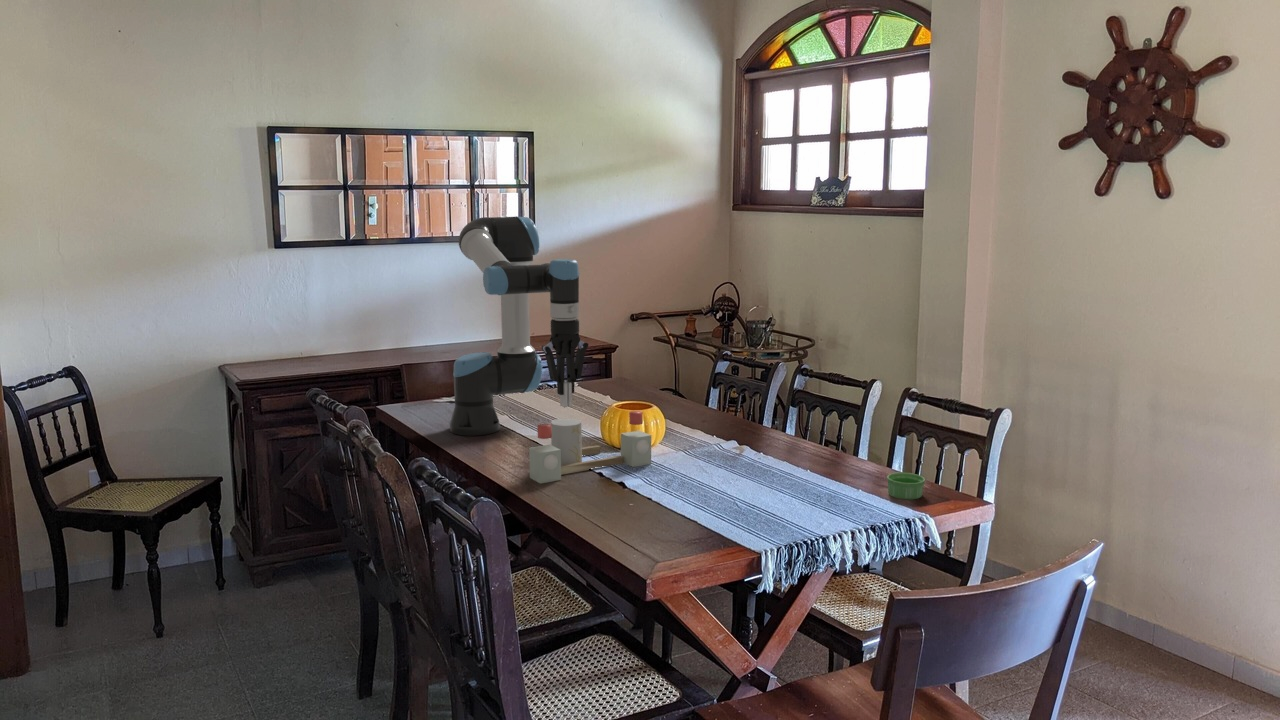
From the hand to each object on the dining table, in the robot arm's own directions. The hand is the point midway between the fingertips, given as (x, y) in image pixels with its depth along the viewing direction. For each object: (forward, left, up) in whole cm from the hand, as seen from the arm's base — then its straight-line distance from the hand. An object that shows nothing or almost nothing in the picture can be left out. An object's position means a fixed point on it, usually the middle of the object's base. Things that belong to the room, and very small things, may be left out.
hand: (566, 405), depth 268 cm
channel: (0, +4, -16) cm, 17 cm away
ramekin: (+67, +58, -17) cm, 90 cm away
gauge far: (+8, +17, -5) cm, 20 cm away
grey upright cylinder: (0, 0, -17) cm, 17 cm away
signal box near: (+8, -11, -16) cm, 21 cm away
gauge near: (+8, -10, -5) cm, 14 cm away
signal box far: (+8, +17, -16) cm, 25 cm away
